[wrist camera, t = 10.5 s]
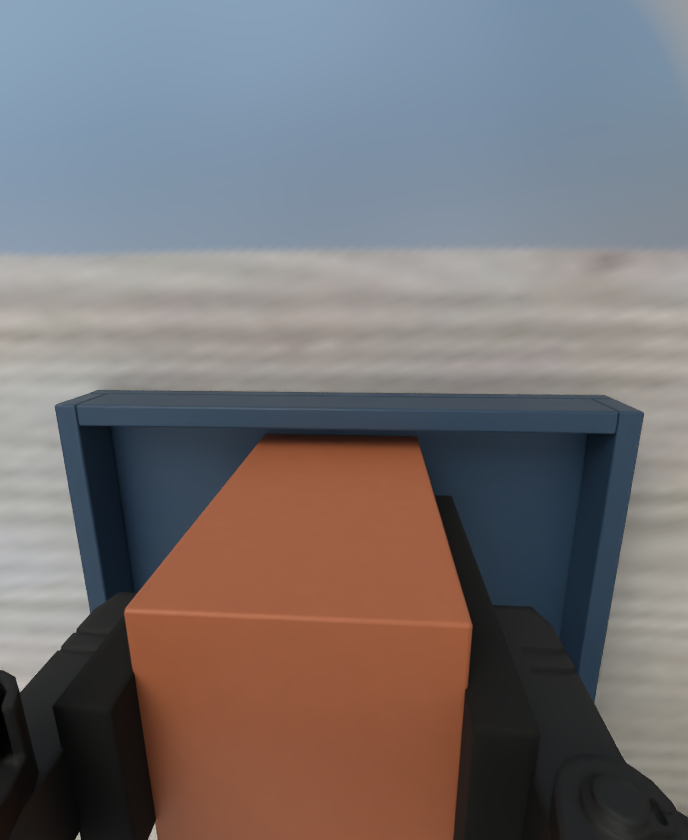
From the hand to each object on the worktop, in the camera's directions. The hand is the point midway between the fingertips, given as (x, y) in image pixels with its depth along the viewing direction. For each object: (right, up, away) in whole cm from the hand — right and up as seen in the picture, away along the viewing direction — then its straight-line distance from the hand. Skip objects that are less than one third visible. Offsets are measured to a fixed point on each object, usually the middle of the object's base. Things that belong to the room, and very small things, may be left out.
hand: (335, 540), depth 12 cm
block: (0, +1, +2) cm, 2 cm away
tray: (0, -2, +3) cm, 4 cm away
